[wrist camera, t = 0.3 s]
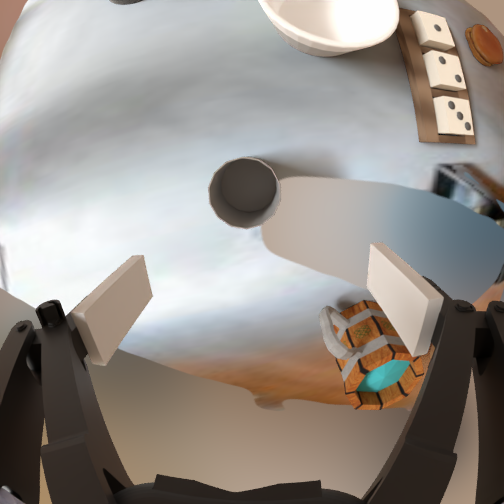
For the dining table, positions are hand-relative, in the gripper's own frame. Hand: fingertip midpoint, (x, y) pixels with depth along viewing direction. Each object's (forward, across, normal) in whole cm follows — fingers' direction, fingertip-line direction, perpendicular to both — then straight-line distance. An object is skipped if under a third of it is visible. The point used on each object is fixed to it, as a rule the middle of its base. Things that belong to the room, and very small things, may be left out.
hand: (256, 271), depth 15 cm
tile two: (+26, +32, +22) cm, 46 cm away
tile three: (+26, +32, +14) cm, 44 cm away
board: (+27, +32, +22) cm, 47 cm away
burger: (+28, +48, +33) cm, 65 cm away
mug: (+28, +16, -24) cm, 40 cm away
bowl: (+28, +11, +29) cm, 42 cm away
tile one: (+26, +31, +30) cm, 50 cm away
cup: (+28, -2, +2) cm, 28 cm away
